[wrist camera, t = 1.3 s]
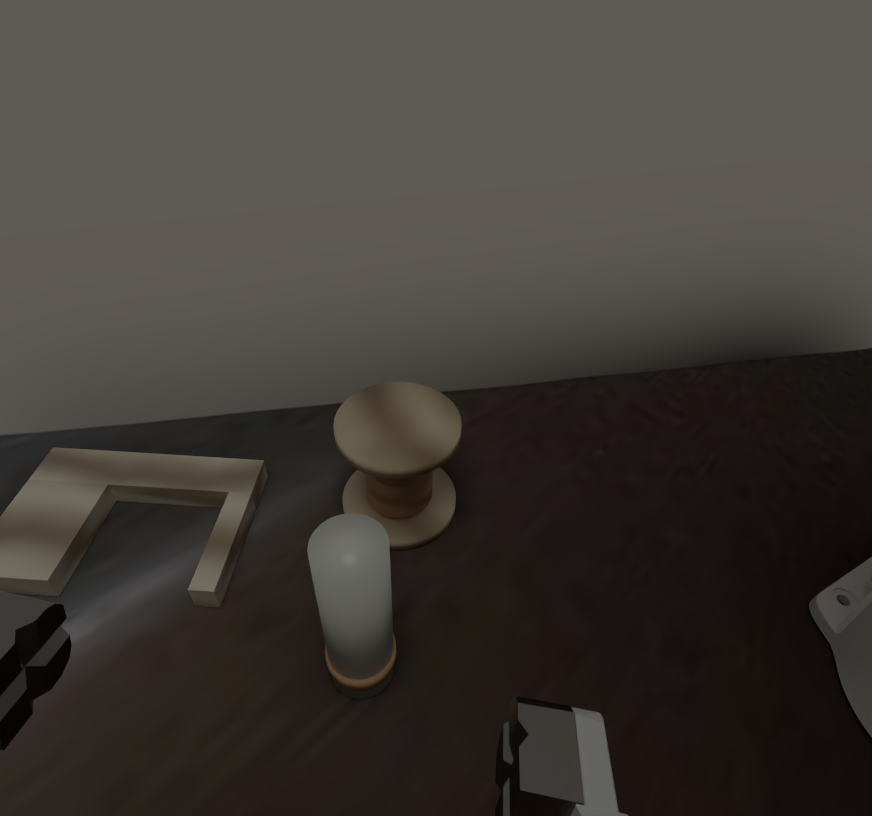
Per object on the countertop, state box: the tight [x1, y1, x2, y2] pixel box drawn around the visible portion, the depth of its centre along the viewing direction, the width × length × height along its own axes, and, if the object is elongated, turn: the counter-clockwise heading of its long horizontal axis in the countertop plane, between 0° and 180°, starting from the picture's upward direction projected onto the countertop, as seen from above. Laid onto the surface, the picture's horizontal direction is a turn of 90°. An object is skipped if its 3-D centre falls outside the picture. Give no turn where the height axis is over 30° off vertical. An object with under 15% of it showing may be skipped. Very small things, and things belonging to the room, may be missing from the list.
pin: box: [308, 513, 396, 699], centre depth 33 cm, size 4×4×13 cm
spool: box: [334, 382, 461, 550], centre depth 45 cm, size 9×9×9 cm
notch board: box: [0, 447, 268, 608], centre depth 45 cm, size 12×18×2 cm
